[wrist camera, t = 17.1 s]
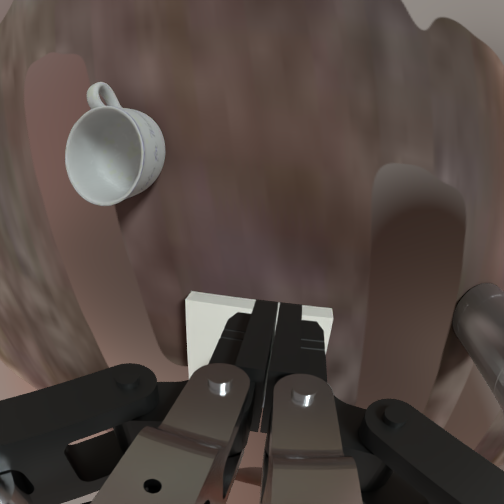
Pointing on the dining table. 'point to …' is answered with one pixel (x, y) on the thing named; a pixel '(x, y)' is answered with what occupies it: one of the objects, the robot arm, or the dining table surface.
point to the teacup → (113, 150)
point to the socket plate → (215, 318)
